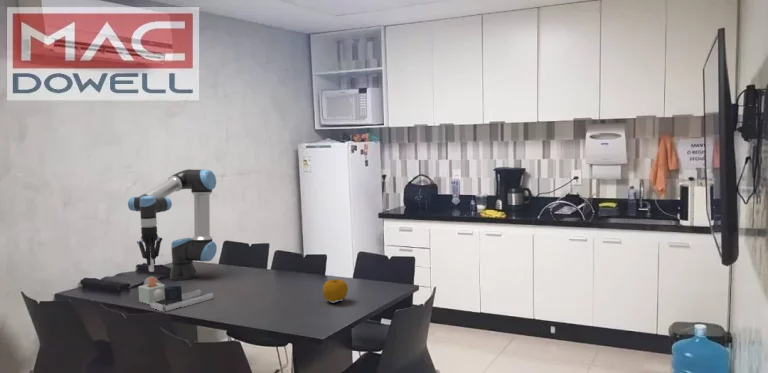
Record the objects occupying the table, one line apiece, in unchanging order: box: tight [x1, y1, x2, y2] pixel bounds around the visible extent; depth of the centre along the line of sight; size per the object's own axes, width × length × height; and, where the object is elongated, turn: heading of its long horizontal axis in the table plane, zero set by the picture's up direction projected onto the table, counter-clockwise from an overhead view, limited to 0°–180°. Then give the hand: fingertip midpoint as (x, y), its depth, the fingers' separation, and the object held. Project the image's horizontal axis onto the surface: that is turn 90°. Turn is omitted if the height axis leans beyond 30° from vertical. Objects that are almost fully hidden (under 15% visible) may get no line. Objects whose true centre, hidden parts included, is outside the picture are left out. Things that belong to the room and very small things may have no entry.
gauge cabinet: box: [137, 282, 165, 306], centre depth 300 cm, size 10×10×8 cm
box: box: [164, 282, 183, 305], centre depth 292 cm, size 8×6×11 cm
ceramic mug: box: [143, 276, 161, 285], centre depth 319 cm, size 11×8×8 cm
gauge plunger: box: [147, 276, 157, 287], centre depth 300 cm, size 4×4×7 cm
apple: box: [322, 278, 349, 301], centre depth 293 cm, size 13×13×11 cm
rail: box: [149, 288, 214, 313], centre depth 296 cm, size 28×12×3 cm, turn 141°
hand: (151, 271), depth 299 cm, fingers closed
